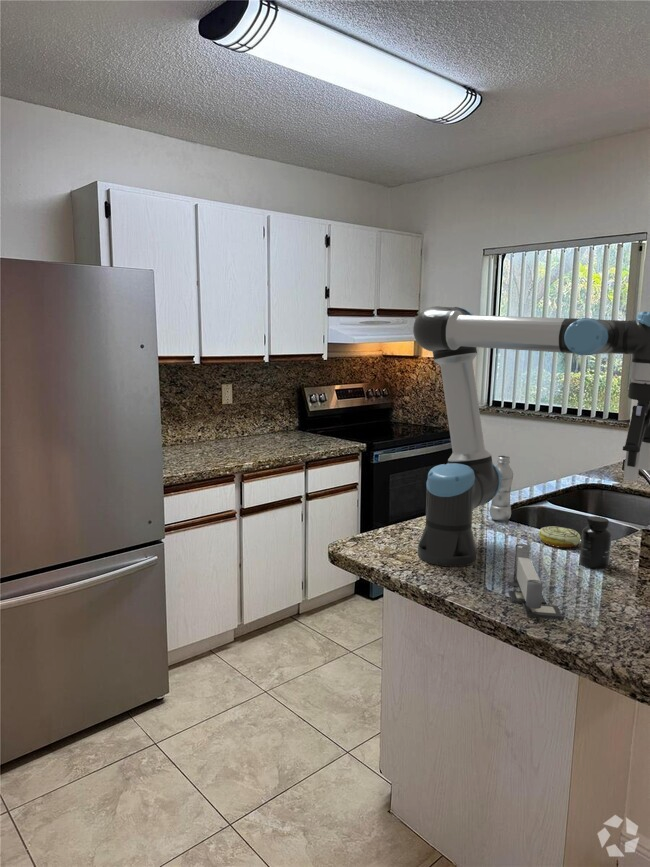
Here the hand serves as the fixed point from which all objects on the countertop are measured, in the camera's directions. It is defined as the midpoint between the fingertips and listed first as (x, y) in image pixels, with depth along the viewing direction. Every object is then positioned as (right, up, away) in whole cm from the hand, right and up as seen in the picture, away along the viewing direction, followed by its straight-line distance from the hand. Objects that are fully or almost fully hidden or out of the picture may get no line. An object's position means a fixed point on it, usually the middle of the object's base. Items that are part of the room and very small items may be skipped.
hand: (637, 474), depth 138 cm
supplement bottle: (-4, -24, +14) cm, 28 cm away
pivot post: (-26, -25, +2) cm, 36 cm away
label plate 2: (-26, -28, -12) cm, 40 cm away
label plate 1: (-27, -27, -6) cm, 39 cm away
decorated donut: (-6, -21, +30) cm, 37 cm away
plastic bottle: (-17, -18, +49) cm, 55 cm away
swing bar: (-28, -25, -8) cm, 38 cm away
